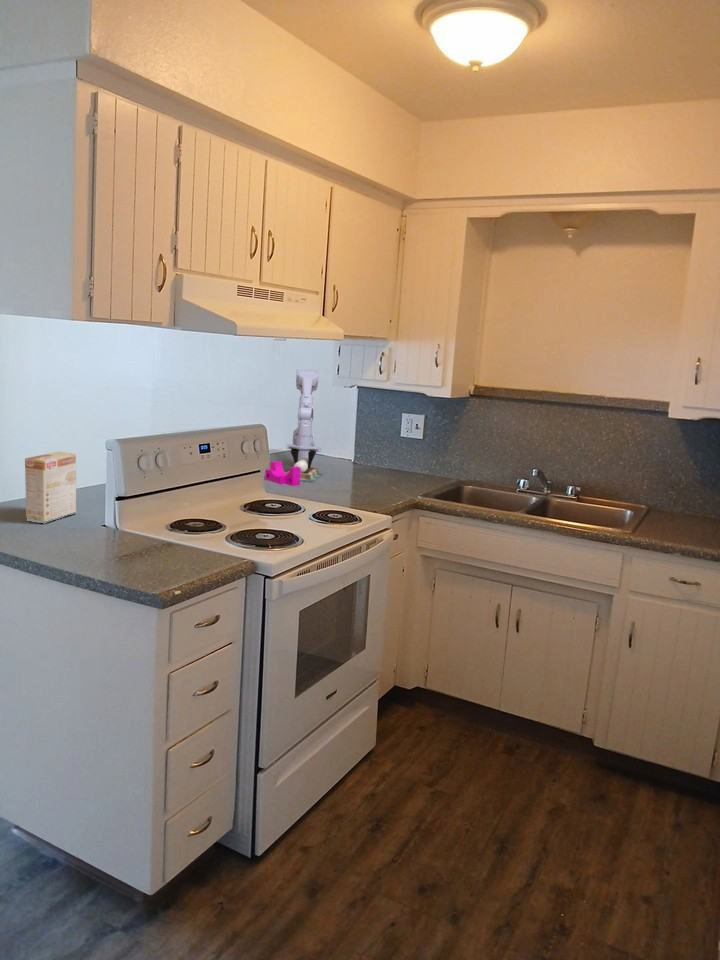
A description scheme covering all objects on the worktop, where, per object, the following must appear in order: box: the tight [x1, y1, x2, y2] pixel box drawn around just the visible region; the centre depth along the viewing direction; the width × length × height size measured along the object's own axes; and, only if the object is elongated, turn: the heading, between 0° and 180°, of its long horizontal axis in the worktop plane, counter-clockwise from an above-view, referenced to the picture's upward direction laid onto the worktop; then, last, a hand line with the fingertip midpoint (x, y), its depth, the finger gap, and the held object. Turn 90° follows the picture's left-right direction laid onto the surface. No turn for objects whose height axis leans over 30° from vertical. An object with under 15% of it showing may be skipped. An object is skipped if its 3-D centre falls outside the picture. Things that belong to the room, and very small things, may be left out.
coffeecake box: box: [24, 451, 77, 521], centre depth 235 cm, size 15×7×20 cm, turn 162°
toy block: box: [264, 460, 301, 487], centre depth 313 cm, size 15×6×8 cm, turn 44°
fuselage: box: [293, 458, 312, 473], centre depth 327 cm, size 12×5×5 cm, turn 171°
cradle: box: [285, 466, 324, 483], centre depth 328 cm, size 20×14×3 cm
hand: (302, 467), depth 328 cm, fingers closed on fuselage, 5 cm apart
